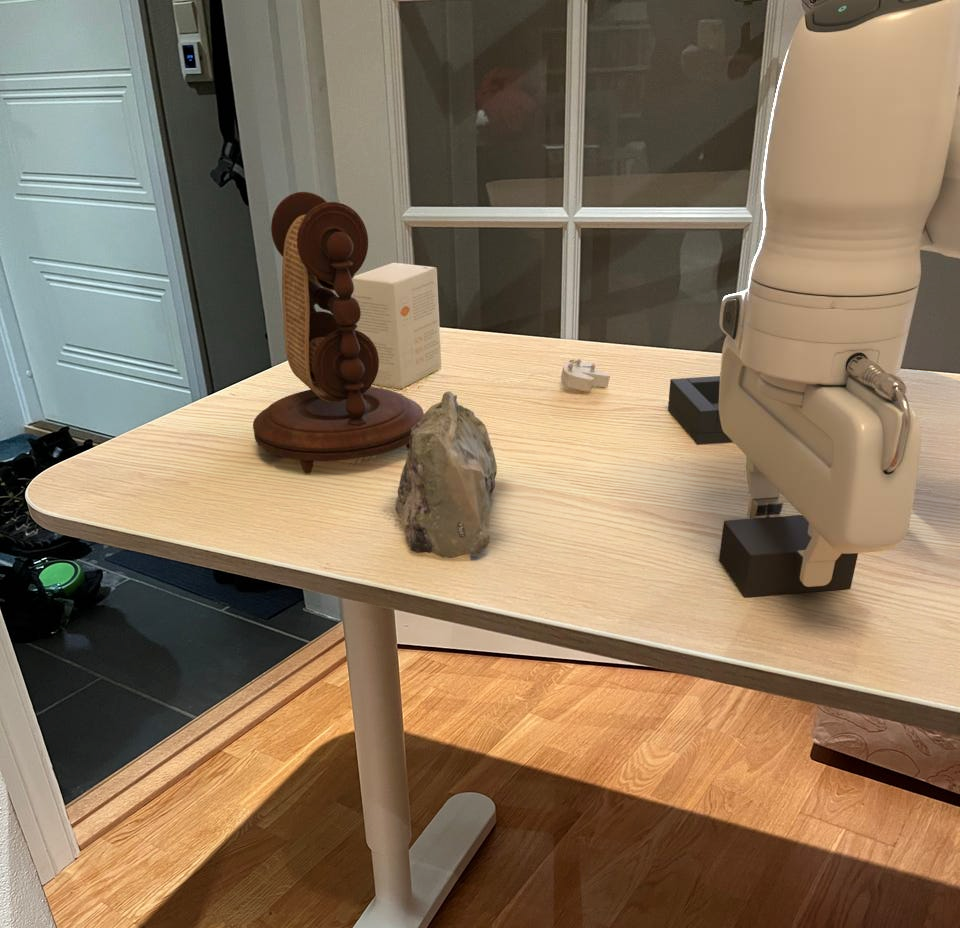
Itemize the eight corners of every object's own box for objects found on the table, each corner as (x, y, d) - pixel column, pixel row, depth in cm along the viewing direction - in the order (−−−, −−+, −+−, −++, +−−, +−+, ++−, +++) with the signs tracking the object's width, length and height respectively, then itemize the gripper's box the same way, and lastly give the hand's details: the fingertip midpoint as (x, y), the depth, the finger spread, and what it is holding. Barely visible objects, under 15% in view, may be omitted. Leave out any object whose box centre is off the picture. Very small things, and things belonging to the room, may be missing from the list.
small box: (400, 362, 103) (393, 261, 97) (443, 369, 101) (438, 265, 95) (356, 382, 97) (346, 276, 92) (400, 390, 95) (392, 282, 89)
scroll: (237, 434, 85) (196, 194, 74) (387, 406, 91) (368, 179, 80) (286, 491, 74) (246, 219, 63) (453, 455, 80) (442, 199, 69)
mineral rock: (462, 475, 76) (457, 351, 71) (571, 508, 70) (575, 376, 65) (348, 533, 68) (333, 397, 62) (461, 575, 62) (455, 430, 57)
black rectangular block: (818, 552, 64) (825, 512, 62) (850, 589, 59) (860, 546, 58) (718, 560, 63) (723, 520, 61) (744, 597, 59) (750, 555, 57)
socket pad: (780, 403, 89) (785, 371, 87) (819, 436, 81) (825, 403, 80) (667, 410, 88) (670, 378, 86) (696, 445, 81) (700, 411, 79)
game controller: (616, 392, 93) (617, 366, 91) (503, 404, 91) (502, 377, 89) (598, 375, 97) (599, 349, 96) (490, 386, 96) (489, 360, 94)
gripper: (979, 386, 44) (912, 632, 52) (805, 289, 61) (774, 484, 69) (851, 394, 44) (803, 641, 51) (711, 294, 61) (690, 490, 68)
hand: (785, 550), depth 60 cm, fingers open, 7 cm apart
